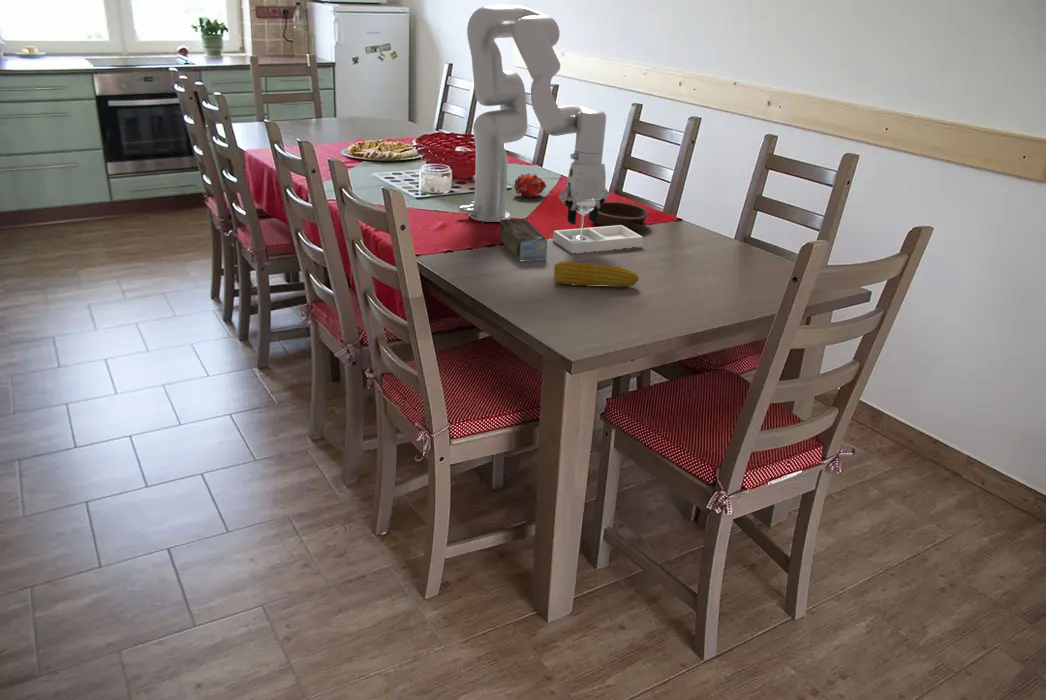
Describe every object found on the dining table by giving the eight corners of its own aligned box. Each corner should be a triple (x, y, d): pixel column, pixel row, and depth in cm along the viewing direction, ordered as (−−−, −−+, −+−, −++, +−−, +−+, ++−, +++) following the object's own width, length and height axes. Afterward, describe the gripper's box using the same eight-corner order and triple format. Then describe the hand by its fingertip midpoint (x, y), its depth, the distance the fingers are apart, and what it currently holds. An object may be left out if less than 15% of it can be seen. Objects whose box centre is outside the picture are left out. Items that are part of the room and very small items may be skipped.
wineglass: (565, 238, 231) (569, 196, 226) (573, 232, 237) (576, 190, 231) (588, 242, 229) (592, 200, 224) (595, 236, 235) (600, 194, 229)
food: (553, 288, 203) (555, 265, 200) (552, 280, 208) (553, 257, 205) (638, 291, 204) (641, 268, 201) (635, 283, 209) (638, 261, 206)
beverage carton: (518, 262, 218) (519, 238, 216) (498, 240, 235) (499, 217, 232) (546, 261, 221) (548, 237, 218) (524, 239, 237) (526, 216, 234)
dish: (619, 238, 242) (621, 222, 240) (573, 218, 258) (574, 202, 256) (663, 231, 251) (665, 215, 249) (616, 212, 268) (617, 197, 265)
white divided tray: (572, 253, 227) (572, 243, 225) (553, 240, 236) (553, 230, 235) (641, 246, 236) (642, 236, 234) (620, 234, 245) (621, 224, 244)
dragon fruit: (509, 201, 277) (541, 204, 283) (520, 192, 270) (553, 195, 275) (507, 177, 279) (539, 181, 284) (518, 167, 271) (551, 171, 277)
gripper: (566, 162, 217) (560, 228, 224) (622, 159, 223) (615, 224, 231) (553, 155, 223) (548, 220, 230) (608, 153, 230) (602, 216, 237)
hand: (582, 221), depth 231 cm, fingers closed on wineglass, 5 cm apart
